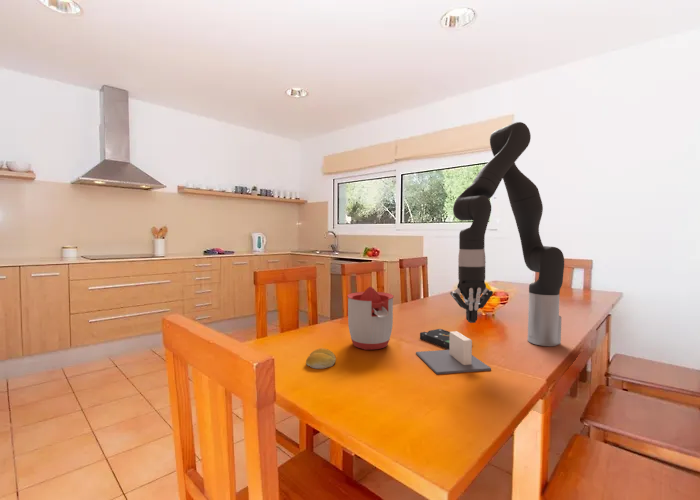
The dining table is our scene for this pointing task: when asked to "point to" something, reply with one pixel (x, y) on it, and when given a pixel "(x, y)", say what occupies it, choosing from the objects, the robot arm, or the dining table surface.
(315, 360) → the bread roll
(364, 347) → the citrus juicer
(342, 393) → the dining table surface
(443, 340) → the disk drive
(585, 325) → the dining table surface
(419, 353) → the mat
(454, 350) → the block
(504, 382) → the dining table surface
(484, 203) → the robot arm
